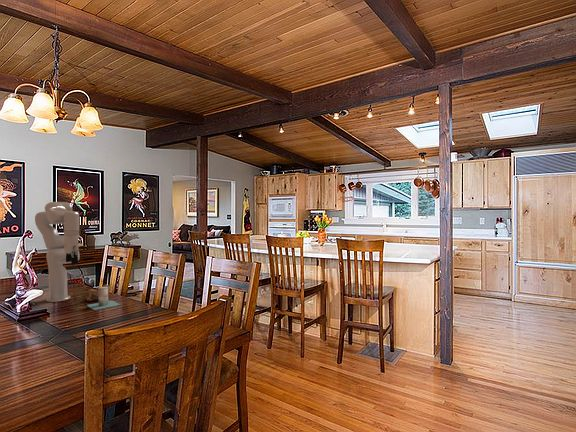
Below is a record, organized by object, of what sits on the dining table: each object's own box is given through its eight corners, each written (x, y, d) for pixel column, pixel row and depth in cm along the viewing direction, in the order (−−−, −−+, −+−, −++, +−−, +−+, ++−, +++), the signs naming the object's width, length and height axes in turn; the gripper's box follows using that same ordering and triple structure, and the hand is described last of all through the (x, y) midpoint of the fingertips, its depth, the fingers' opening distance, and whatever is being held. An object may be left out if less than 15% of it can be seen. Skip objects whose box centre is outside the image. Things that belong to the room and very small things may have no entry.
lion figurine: (110, 297, 220) (109, 283, 220) (108, 299, 215) (108, 285, 215) (83, 299, 216) (83, 285, 215) (81, 302, 211) (81, 287, 210)
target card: (86, 305, 203) (86, 305, 203) (112, 300, 212) (112, 300, 212) (94, 310, 193) (94, 309, 193) (120, 305, 203) (120, 304, 203)
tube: (97, 304, 203) (97, 287, 202) (106, 303, 206) (106, 286, 206) (100, 306, 199) (99, 289, 199) (109, 304, 203) (109, 287, 202)
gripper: (59, 232, 201) (59, 261, 202) (69, 235, 190) (69, 266, 191) (74, 231, 207) (74, 260, 208) (84, 234, 196) (84, 264, 196)
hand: (71, 263), depth 199 cm, fingers open, 9 cm apart
